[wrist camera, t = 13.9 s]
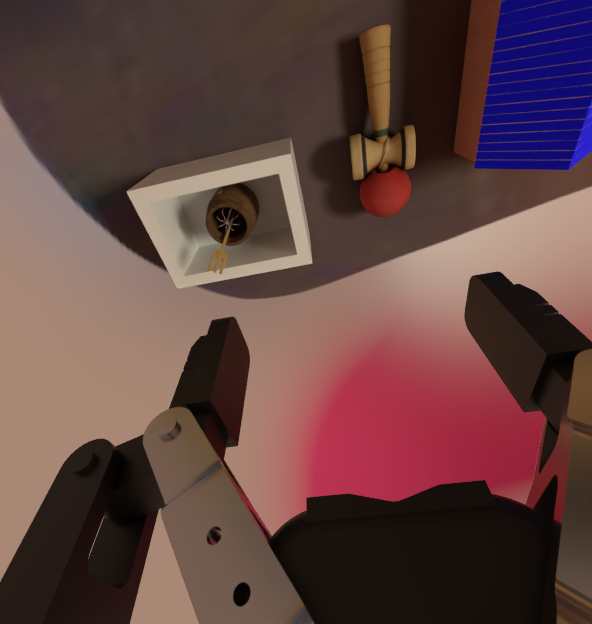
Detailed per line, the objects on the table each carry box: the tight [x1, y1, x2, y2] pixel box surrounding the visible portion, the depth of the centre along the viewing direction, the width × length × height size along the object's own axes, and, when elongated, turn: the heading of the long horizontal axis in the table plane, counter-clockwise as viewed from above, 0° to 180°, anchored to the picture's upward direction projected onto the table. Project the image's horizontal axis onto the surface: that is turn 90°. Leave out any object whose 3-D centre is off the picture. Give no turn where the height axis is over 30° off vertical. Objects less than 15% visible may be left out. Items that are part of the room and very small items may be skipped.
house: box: [453, 0, 592, 170], centre depth 27 cm, size 12×20×12 cm, turn 10°
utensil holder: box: [206, 183, 259, 274], centre depth 36 cm, size 6×6×12 cm
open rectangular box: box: [126, 138, 312, 289], centre depth 38 cm, size 12×17×9 cm
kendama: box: [350, 25, 416, 217], centre depth 35 cm, size 8×6×18 cm
